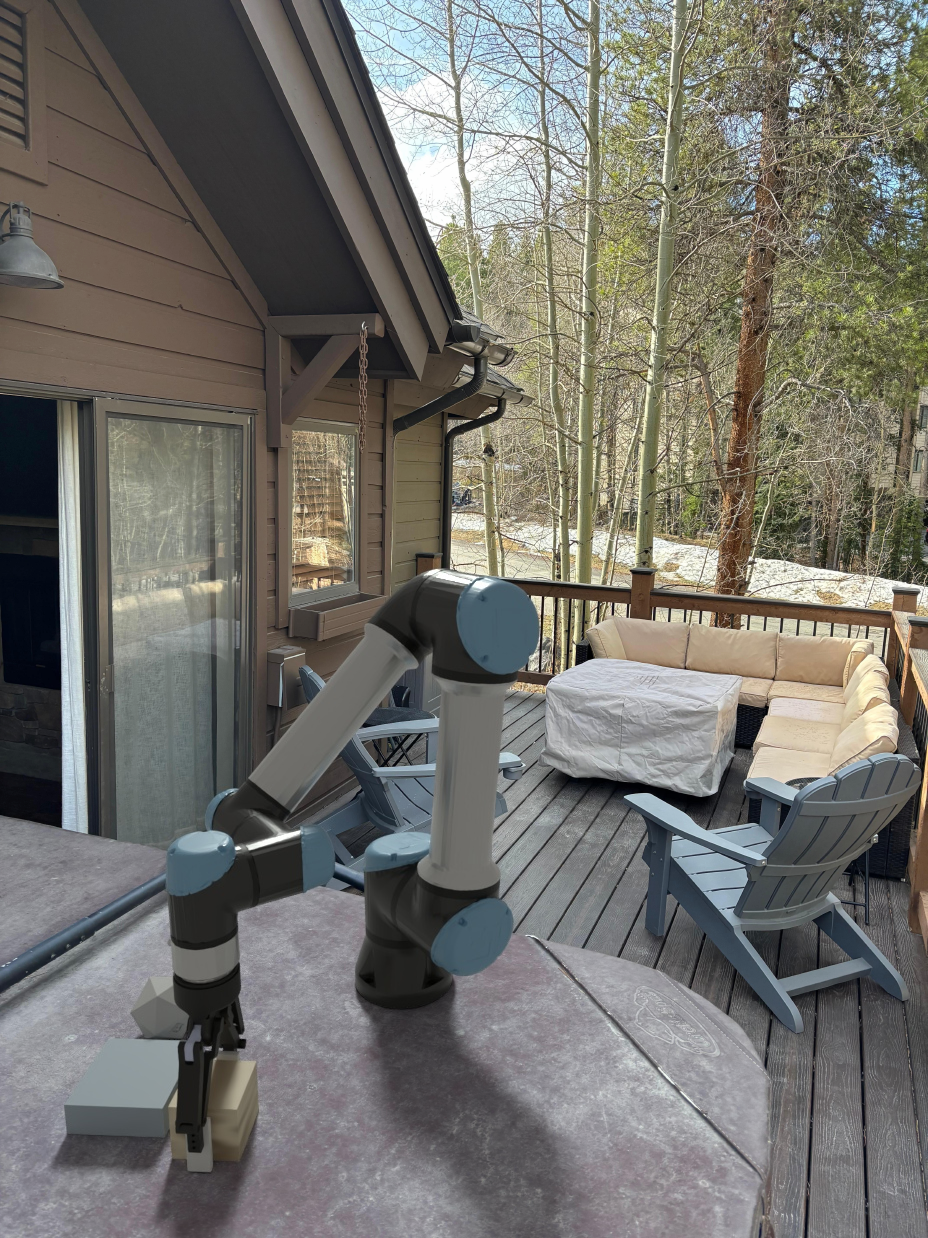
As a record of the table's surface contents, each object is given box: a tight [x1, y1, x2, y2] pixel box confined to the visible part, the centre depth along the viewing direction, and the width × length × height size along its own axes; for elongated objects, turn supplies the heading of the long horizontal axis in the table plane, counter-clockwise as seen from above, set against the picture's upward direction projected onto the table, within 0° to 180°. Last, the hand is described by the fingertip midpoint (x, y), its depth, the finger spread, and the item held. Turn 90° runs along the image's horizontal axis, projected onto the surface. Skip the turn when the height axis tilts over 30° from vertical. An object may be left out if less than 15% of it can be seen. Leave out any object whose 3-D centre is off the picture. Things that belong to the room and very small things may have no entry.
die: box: [129, 976, 189, 1040], centre depth 123 cm, size 8×9×10 cm
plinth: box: [63, 1037, 181, 1139], centre depth 110 cm, size 12×12×4 cm
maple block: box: [168, 1059, 260, 1162], centre depth 105 cm, size 8×8×7 cm
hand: (216, 1132), depth 105 cm, fingers open, 10 cm apart
